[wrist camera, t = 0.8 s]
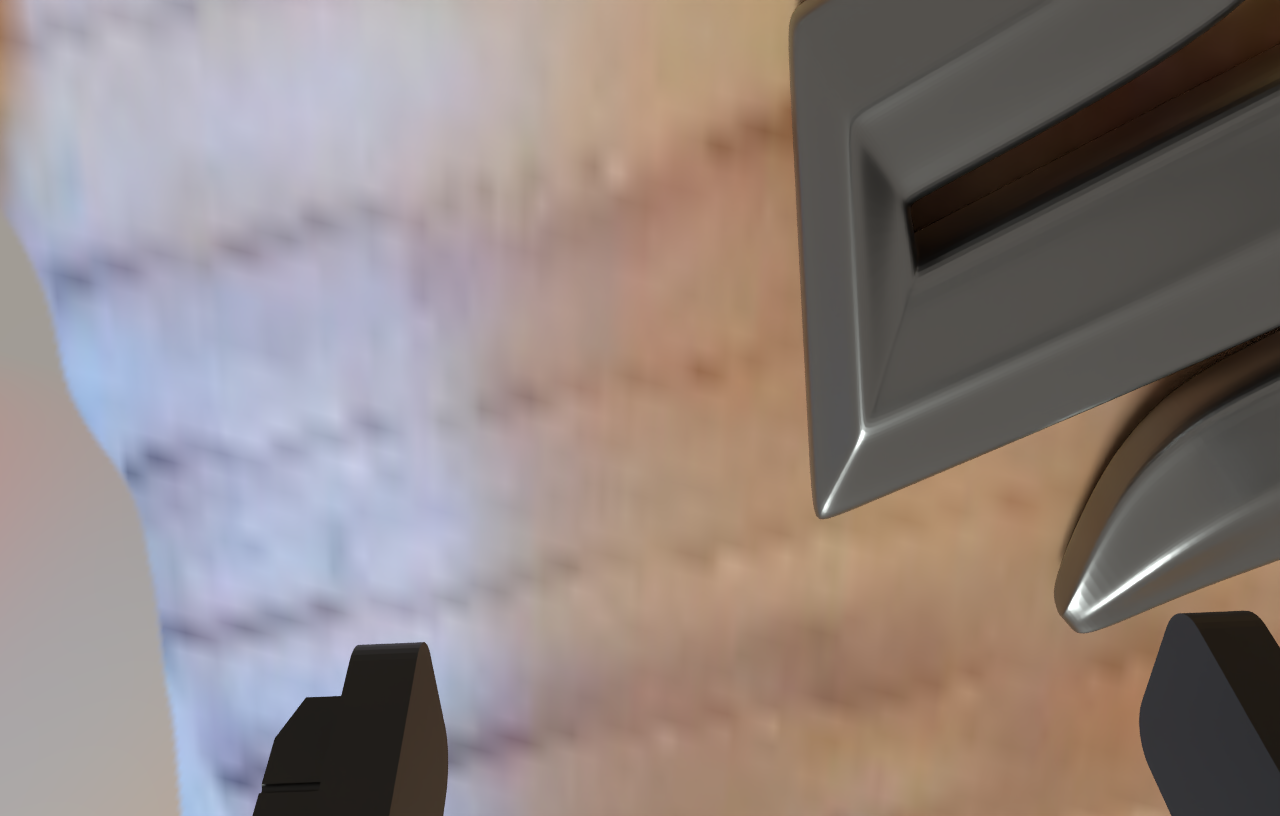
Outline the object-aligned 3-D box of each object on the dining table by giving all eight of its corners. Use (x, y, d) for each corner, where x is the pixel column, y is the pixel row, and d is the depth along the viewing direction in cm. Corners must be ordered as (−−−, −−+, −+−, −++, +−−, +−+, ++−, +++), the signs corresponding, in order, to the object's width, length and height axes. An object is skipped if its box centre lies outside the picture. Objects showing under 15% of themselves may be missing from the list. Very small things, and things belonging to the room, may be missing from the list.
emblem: (1314, 794, 39) (579, 428, 36) (1256, 693, 44) (603, 363, 41) (2136, 23, 27) (1129, -602, 24) (1931, 0, 32) (1073, -523, 29)
